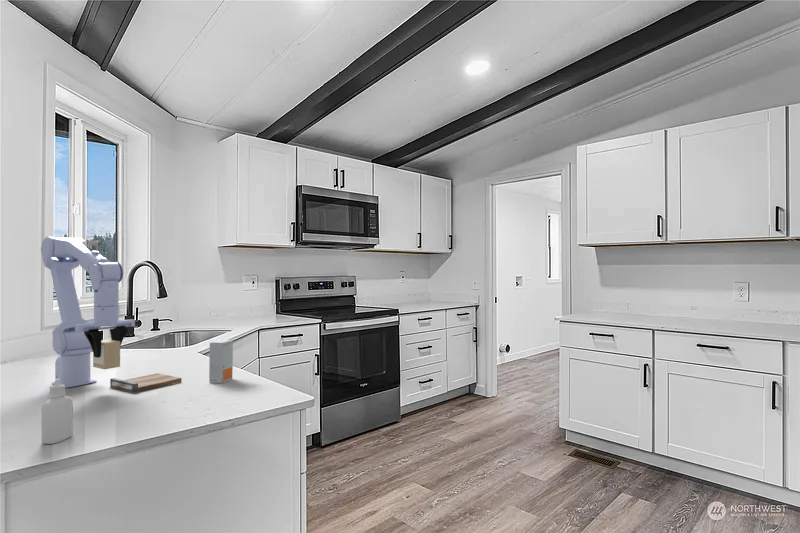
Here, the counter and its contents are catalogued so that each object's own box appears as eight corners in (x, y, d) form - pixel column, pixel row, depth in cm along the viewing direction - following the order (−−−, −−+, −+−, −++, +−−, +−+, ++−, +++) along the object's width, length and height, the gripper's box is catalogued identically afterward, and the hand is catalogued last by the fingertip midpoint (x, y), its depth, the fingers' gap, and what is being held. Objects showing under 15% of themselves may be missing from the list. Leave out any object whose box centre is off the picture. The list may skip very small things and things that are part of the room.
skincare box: (221, 383, 136) (221, 342, 136) (208, 383, 136) (208, 342, 136) (233, 378, 141) (233, 339, 142) (220, 378, 142) (220, 339, 142)
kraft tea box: (104, 369, 123) (104, 343, 123) (93, 366, 127) (93, 341, 127) (120, 366, 127) (120, 341, 127) (108, 364, 130) (108, 339, 130)
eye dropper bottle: (36, 441, 90) (36, 380, 90) (69, 433, 95) (69, 374, 95) (45, 446, 88) (45, 383, 88) (78, 437, 93) (78, 377, 93)
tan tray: (109, 387, 131) (109, 378, 131) (157, 377, 144) (157, 369, 144) (133, 393, 125) (133, 384, 125) (181, 382, 137) (181, 373, 137)
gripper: (84, 308, 119) (84, 361, 119) (140, 304, 131) (140, 352, 131) (71, 307, 122) (71, 358, 122) (127, 303, 135) (127, 350, 135)
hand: (106, 355), depth 127 cm, fingers closed on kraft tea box, 4 cm apart
